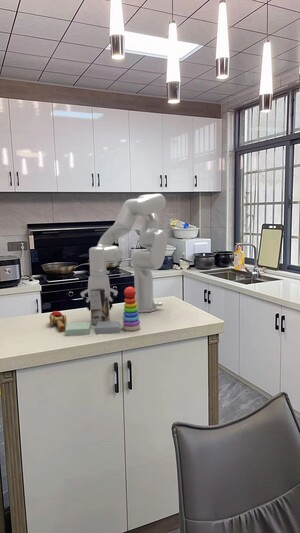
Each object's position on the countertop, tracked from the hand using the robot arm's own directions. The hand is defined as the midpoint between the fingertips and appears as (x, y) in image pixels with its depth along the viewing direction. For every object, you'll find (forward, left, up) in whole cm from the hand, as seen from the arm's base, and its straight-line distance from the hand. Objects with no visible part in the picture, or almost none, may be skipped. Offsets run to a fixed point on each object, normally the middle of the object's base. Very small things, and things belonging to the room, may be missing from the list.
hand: (99, 309), depth 176 cm
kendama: (+19, +3, -6) cm, 20 cm away
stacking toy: (-14, +13, -6) cm, 20 cm away
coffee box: (0, 0, -6) cm, 6 cm away
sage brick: (+9, +13, -7) cm, 17 cm away
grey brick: (-4, +13, -7) cm, 15 cm away
